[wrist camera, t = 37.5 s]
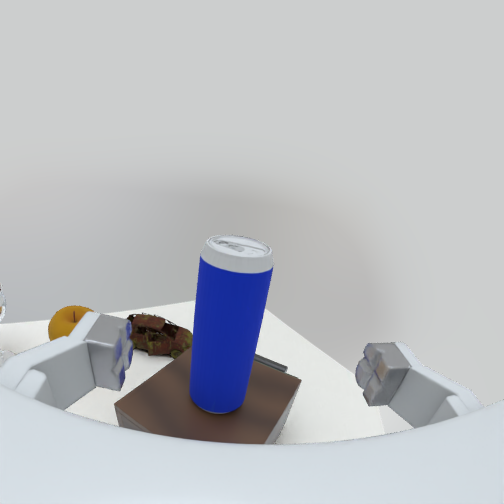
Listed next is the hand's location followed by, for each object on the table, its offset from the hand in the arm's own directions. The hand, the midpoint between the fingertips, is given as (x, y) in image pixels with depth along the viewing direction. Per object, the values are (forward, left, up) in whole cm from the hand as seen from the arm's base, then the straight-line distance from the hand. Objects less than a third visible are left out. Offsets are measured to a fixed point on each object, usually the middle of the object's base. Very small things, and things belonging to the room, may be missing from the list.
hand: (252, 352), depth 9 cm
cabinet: (+1, -12, -25) cm, 28 cm away
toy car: (+12, -29, -25) cm, 40 cm away
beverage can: (+1, -12, -15) cm, 19 cm away
